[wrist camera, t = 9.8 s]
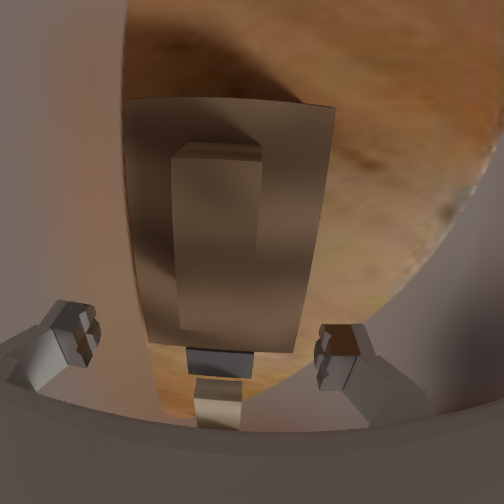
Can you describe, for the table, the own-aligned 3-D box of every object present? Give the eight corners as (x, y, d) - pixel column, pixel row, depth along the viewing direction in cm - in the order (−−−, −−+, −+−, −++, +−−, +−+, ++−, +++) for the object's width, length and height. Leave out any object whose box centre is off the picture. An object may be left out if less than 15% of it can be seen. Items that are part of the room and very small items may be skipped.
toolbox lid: (138, 97, 16) (91, 106, 11) (326, 105, 16) (357, 115, 11) (155, 322, 24) (136, 379, 19) (290, 332, 24) (297, 392, 19)
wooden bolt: (196, 378, 23) (188, 431, 19) (242, 381, 24) (240, 435, 19) (202, 425, 28) (197, 469, 23) (238, 428, 28) (236, 472, 23)
